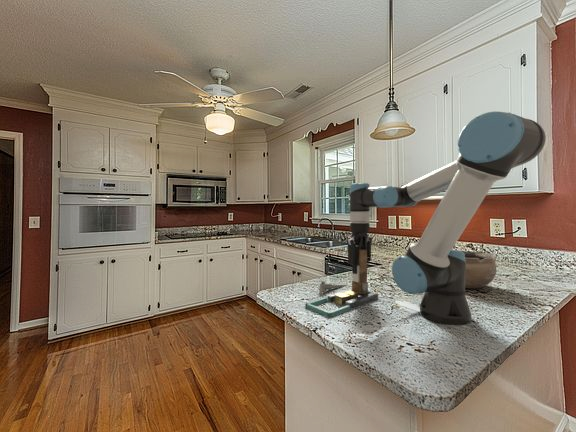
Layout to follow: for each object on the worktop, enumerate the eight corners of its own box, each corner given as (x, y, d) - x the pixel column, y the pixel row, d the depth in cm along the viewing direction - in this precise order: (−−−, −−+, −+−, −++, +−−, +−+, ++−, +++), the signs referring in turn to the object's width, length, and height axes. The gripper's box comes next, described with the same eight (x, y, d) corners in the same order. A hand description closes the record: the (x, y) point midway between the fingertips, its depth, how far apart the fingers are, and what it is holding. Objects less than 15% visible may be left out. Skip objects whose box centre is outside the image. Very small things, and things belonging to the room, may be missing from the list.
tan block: (349, 303, 101) (349, 295, 101) (341, 305, 99) (341, 297, 99) (342, 300, 105) (342, 292, 105) (334, 302, 103) (334, 294, 103)
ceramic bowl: (476, 296, 110) (476, 260, 110) (429, 283, 130) (429, 252, 130) (507, 289, 119) (507, 255, 119) (458, 277, 139) (459, 248, 139)
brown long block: (369, 292, 107) (369, 250, 107) (362, 294, 105) (362, 251, 104) (356, 288, 112) (356, 248, 111) (350, 290, 109) (350, 249, 109)
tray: (350, 312, 95) (349, 305, 95) (329, 320, 89) (329, 313, 89) (325, 303, 105) (325, 297, 105) (305, 310, 98) (305, 303, 98)
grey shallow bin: (379, 301, 106) (379, 293, 106) (351, 312, 96) (351, 303, 96) (354, 294, 116) (354, 286, 115) (326, 303, 105) (326, 295, 105)
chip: (358, 300, 104) (358, 292, 104) (352, 303, 102) (352, 295, 102) (349, 297, 107) (349, 290, 107) (343, 300, 105) (343, 292, 104)
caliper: (321, 297, 113) (321, 282, 113) (319, 296, 114) (319, 281, 114) (350, 287, 126) (350, 274, 126) (348, 286, 127) (348, 273, 127)
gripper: (365, 220, 115) (365, 275, 116) (338, 222, 105) (338, 282, 106) (380, 221, 110) (380, 278, 110) (353, 223, 99) (353, 286, 100)
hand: (359, 280), depth 108 cm, fingers closed on brown long block, 4 cm apart
